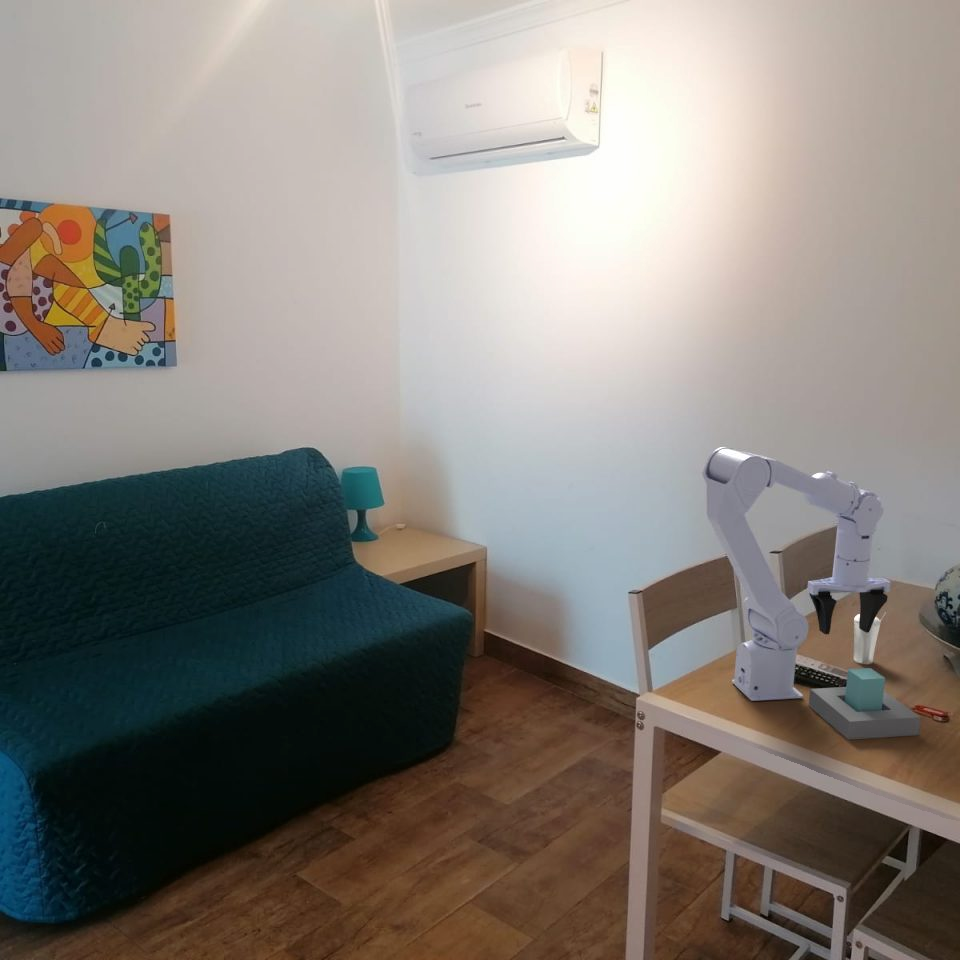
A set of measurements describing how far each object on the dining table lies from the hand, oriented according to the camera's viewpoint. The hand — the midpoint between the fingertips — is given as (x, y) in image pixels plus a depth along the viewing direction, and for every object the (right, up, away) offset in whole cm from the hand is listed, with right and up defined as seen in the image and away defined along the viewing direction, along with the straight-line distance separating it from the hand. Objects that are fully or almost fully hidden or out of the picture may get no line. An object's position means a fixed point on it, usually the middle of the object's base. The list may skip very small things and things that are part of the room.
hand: (844, 631), depth 163 cm
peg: (-2, -12, -13) cm, 18 cm away
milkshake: (+8, -8, +11) cm, 16 cm away
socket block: (-2, -12, -13) cm, 18 cm away
